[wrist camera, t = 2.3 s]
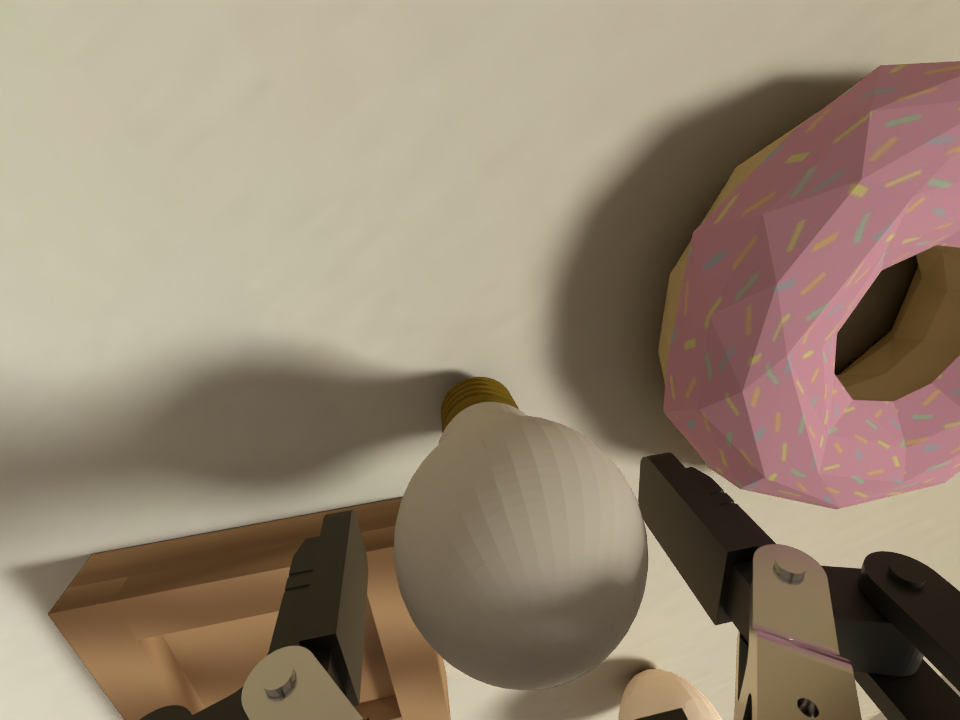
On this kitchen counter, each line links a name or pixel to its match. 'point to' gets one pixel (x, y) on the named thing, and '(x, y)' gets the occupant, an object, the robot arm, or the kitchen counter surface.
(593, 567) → the light bulb
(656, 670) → the egg
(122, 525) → the kitchen counter surface
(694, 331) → the donut
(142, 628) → the base
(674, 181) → the kitchen counter surface
